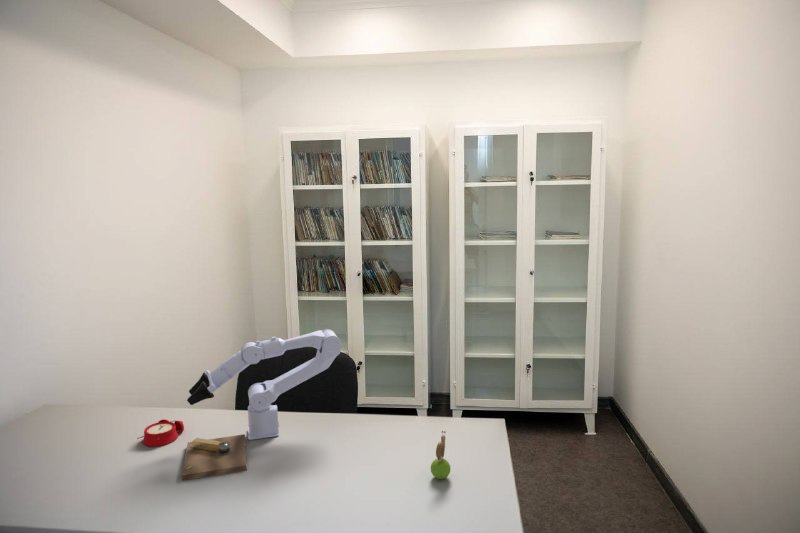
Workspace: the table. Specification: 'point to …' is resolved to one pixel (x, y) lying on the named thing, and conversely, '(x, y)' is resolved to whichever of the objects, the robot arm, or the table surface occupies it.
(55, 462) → the table surface
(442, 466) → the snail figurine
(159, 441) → the alarm clock
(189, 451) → the plate
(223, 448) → the tan wooden bar
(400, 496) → the table surface
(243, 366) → the robot arm
